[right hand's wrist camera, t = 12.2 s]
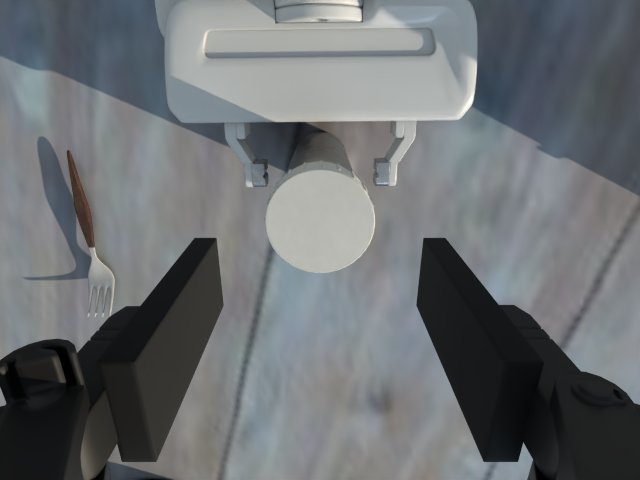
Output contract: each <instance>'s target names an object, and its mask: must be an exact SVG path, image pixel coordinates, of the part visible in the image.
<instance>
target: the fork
mask: <svg viewBox="0 0 640 480" xmlns="http://www.w3.org/2000/svg"><path fill="white" fill-rule="evenodd" d="M67 158H68V165H69V171H70V178H71V184H72V190H73V198H74V204H75V210H76V214H77V217H78V220H79V223H80V226H81V229H82V231H83V234H84V236H85V239H86V242H87V244H88V247H89V250H90V253H91V257H92V261H91V265H90V268H89V272H88V285H89V301H88V316H87V317H89V313H90V307H91V300H92V293H93V289H94V288H95V289H96V304H95V317H96V314H97V308H98V301H99V293H100V289H101V288H102V289H103V307H102V317H103V315H104V309H105V302H106V294H107V289H108V288H109V289H110V311H109V317H110V316H111V309H112V303H113V295H114V284H115V279H114V275H113V273H112V272H111V270H110V269H109V268H108V267H107V266H105V265H104V264H103V263H102V262H101V261H100V260H99V259H98V258H97V256H96V252H95V245H94V235H93V226H92V218H91V213H90V209H89V206H88V203H87V200H86V197H85V194H84V191H83V189H82V186H81V183H80V180H79V176H78V173H77V170H76V167H75V164H74V161H73V158H72V155H71V153H70V151H69V150H67Z"/></svg>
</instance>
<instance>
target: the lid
mask: <svg viewBox="0 0 640 480" xmlns="http://www.w3.org/2000/svg"><path fill="white" fill-rule="evenodd" d="M267 204H268V206H267V210H266V215H265V226H266V232H267V236H268V239H269V241H270V243H271V245H272V247H273V248H274V250H275V251H276V253H277V254H278V255H279V256H280V257H281V258H282V259H283V260H285V261H286V262H287V263H289V264H290V265H292V266H294V267H296V268H298V269H301V270H304V271H308V272H315V273H326V272H332V271H336V270H339V269H342V268H344V267H346V266H348V265H350V264H351V263H353V262H354V261H355V260H357V259H358V258H359V257H360V256H361V255H362V254H363V252H364V251H365V250H366V248H367V247H368V245H369V243H370V241H371V239H372V236H373V232H374V226H375V216H374V210H373V207H374V205H373V202H372V200H371V198H370V197H369V196H368V194H367V189H366V186H365V184H364V183H361V181H360V180H359V179H358V178H357V177H356V176H355V174H354V172H353V171H352V172H350V171H349V170H348V169H346V168H344V167H342V166H340V165H339V163H337V164H334V163H329V162H323V160H320V162H311V163H306V162H304V164H303V165H300V166H298V167H296V168H294V169H293V170H291V169H290V170H289V171H288V173H287V174H286V175H285V176H284V177H283V178H282V179H281V180H280V181H277V183H276V186H275V188H274V191H273V194H272V195H270V197H269V199H268V202H267Z"/></svg>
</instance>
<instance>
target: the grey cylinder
mask: <svg viewBox="0 0 640 480" xmlns="http://www.w3.org/2000/svg"><path fill="white" fill-rule="evenodd" d="M320 160H323V162H329V163H334V164H337V163H339V165H340V166H342V167H344V168H346V169H348V170H349V171H350V172H352V171H353V170H352V168H351V165H350V162H349V159H348V157H347V154H346V151H345V148H344V146H343V144H342V143H341V142H340V140H339V139H338V138H336V137H335V136H334V135H332V134H330V133H326V132H313V133H310V134H308V135H306V136H305V137H304V138H302V139H301V140H300V142H299V143H298V144H297V146H296V148H295V151H294V154H293V157H292V159H291V162H290V165H289V168H288V170H287V173H288V171H289V170H290V169H291V170H293V169H294V168H296V167H298V166H300V165H303V164H304V162H306V163H311V162H320ZM287 173H286V174H287Z"/></svg>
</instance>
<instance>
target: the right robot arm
mask: <svg viewBox="0 0 640 480" xmlns="http://www.w3.org/2000/svg"><path fill="white" fill-rule="evenodd" d="M222 308H223V296H222V286H221V277H220V267H219V258H218V249H217V239H216V238H194V240H193V241H192V242H191V243H190V245H189V246H188V247H187V248H186V250H185V251H184V252H183V253H182V255H181V256H180V257H179V258H178V260H177V261H176V262H175V263H174V265H173V266H172V267H171V268H170V270H169V271H168V272H167V273H166V275H165V276H164V277H163V278H162V280H161V281H160V282H159V283H158V285H157V286H156V287H155V288H154V290H153V291H152V292H151V293H150V295H149V296H148V297H147V299H146V300H145V301H144V302H143V304H142V305H141V306H126V307H124V308H123V309H121V310H120V311H118V312H116V313H115V314H113V315H112V316H110V317H109V318H108V319H107V320H106V322H105V323H104V324H103V325H102V326H101V327H100V330H99V331H97V332H96V333H95V334H94V335H93V336H92V337H91V340H90V341H88V342H87V343H86V344H85V345H84V346H83V347H82V348H81V350H80V351H79V352H78V353H77V352H76V349H75V345H74V344H72V343H71V342H70V341H68V340H62V339H51V340H43V341H39V342H35V343H32V344H28V345H26V346H24V347H22V348H19V349H17V350H15V351H13V352H11V353H10V354H9V355H7V356H6V357H4V358H3V359H1V360H0V387H1V390H2V393H3V395H4V398H5V400H6V405H5V406H1V407H0V480H110V477H111V476H110V470H109V465H108V462H107V460H108V459H109V457H110V455H111V453H112V451H113V450H114V448H115V446H116V444H117V445H118V448H119V452H120V456H121V460H122V462H156V461H157V459H158V456H159V454H160V452H161V449H162V447H163V445H164V443H165V440H166V438H167V436H168V433H169V431H170V429H171V426H172V424H173V422H174V419H175V417H176V415H177V412H178V410H179V408H180V405H181V403H182V401H183V398H184V396H185V394H186V391H187V389H188V387H189V384H190V382H191V380H192V377H193V375H194V373H195V370H196V368H197V366H198V363H199V361H200V359H201V357H202V354H203V352H204V350H205V347H206V345H207V343H208V340H209V338H210V336H211V333H212V331H213V329H214V326H215V324H216V322H217V319H218V317H219V315H220V312H221V310H222ZM417 308H418V310H419V312H420V315H421V317H422V319H423V322H424V324H425V326H426V329H427V331H428V333H429V336H430V338H431V340H432V343H433V345H434V347H435V350H436V352H437V354H438V357H439V359H440V361H441V363H442V366H443V368H444V370H445V373H446V375H447V377H448V380H449V382H450V384H451V387H452V389H453V391H454V394H455V396H456V398H457V401H458V403H459V405H460V408H461V410H462V412H463V415H464V417H465V419H466V422H467V424H468V426H469V429H470V431H471V433H472V436H473V438H474V440H475V443H476V445H477V447H478V449H479V452H480V454H481V456H482V459H483V461H484V462H518V460H519V456H520V452H521V448H522V445H523V442H524V444H525V446H526V448H527V449H528V451H529V453H530V455H531V456H532V458H533V462H532V465H531V469H530V472H529V476H528V479H527V480H640V405H638V404H634V403H633V401H632V400H631V399H630V397H629V396H628V395H627V393H626V392H624V391H623V390H622V389H621V388H619V387H618V386H617V385H615V384H614V383H612V382H610V381H608V380H606V379H604V378H602V377H600V376H597V375H594V374H590V373H587V372H581V371H580V370H579V369H578V368H577V367H576V366H575V364H574V363H573V362H572V361H571V360H570V359H569V358H568V357H567V355H566V354H565V353H564V352H563V351H562V350H561V349H560V348H559V347H558V345H557V344H556V343H555V342H554V341H553V340H552V339H550V337H549V335H548V334H547V333H546V332H545V331H544V330H543V329H541V327H540V325H539V324H538V323H537V322H536V321H535V320H534V319H533V318H532V317H531V315H529V314H528V313H526V312H524V311H523V310H521V309H519V308H518V307H516V306H515V305H498V304H497V302H496V301H495V300H494V299H493V297H492V296H491V295H490V293H489V292H488V291H487V290H486V288H485V287H484V286H483V285H482V283H481V282H480V281H479V280H478V278H477V277H476V276H475V275H474V273H473V272H472V271H471V270H470V268H469V267H468V266H467V265H466V263H465V262H464V261H463V260H462V258H461V257H460V256H459V255H458V253H457V252H456V251H455V250H454V248H453V247H452V246H451V245H450V243H449V242H448V241H447V240H446V238H424V239H423V249H422V258H421V267H420V277H419V286H418V296H417Z"/></svg>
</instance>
